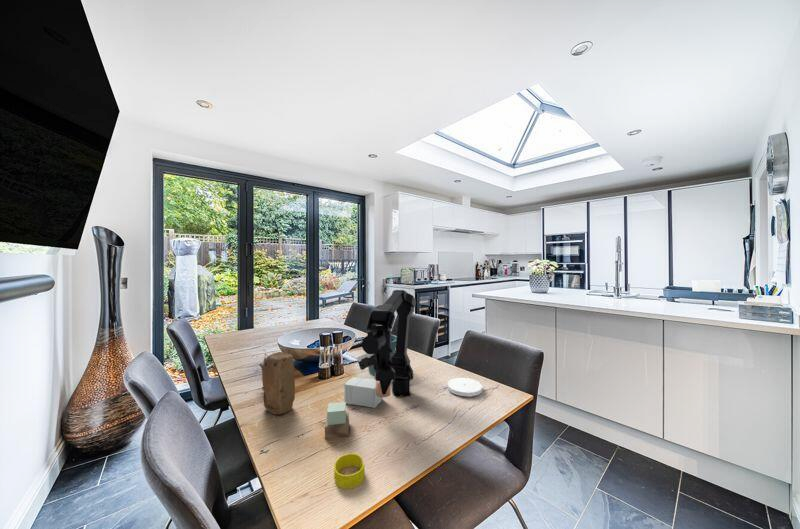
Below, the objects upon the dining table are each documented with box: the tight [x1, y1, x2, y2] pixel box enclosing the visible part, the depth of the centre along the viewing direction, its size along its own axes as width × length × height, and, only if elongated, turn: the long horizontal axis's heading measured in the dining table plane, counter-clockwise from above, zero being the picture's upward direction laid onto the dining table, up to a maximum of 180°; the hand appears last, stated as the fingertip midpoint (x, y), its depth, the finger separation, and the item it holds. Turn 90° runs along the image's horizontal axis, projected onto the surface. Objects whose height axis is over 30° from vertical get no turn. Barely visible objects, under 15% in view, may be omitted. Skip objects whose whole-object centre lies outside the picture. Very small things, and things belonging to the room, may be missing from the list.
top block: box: [326, 401, 347, 425], centre depth 91 cm, size 6×6×4 cm
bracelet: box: [333, 452, 365, 489], centre depth 72 cm, size 7×8×3 cm
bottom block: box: [324, 411, 350, 440], centre depth 91 cm, size 7×7×4 cm
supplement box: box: [343, 376, 383, 409], centre depth 110 cm, size 7×7×13 cm
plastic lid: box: [446, 377, 483, 397], centre depth 119 cm, size 14×14×2 cm
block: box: [261, 351, 296, 416], centre depth 104 cm, size 11×8×20 cm
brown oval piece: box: [376, 381, 391, 398], centre depth 98 cm, size 5×5×4 cm
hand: (383, 390), depth 98 cm, fingers closed on brown oval piece, 5 cm apart
